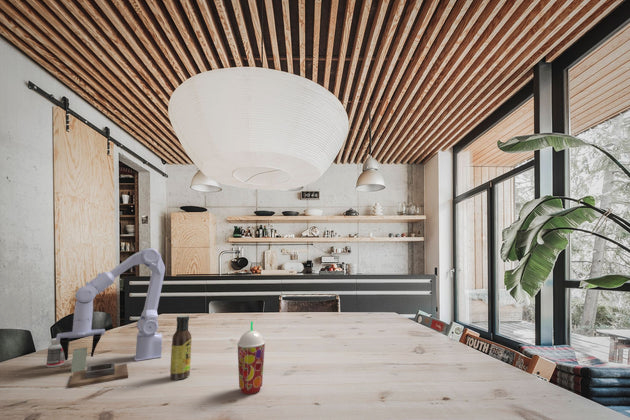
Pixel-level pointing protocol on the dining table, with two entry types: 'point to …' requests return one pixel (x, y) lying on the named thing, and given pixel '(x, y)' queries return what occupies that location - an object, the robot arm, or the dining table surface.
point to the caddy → (99, 374)
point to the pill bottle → (55, 354)
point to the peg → (79, 359)
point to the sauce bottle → (181, 349)
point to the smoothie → (251, 361)
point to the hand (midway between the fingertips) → (79, 357)
